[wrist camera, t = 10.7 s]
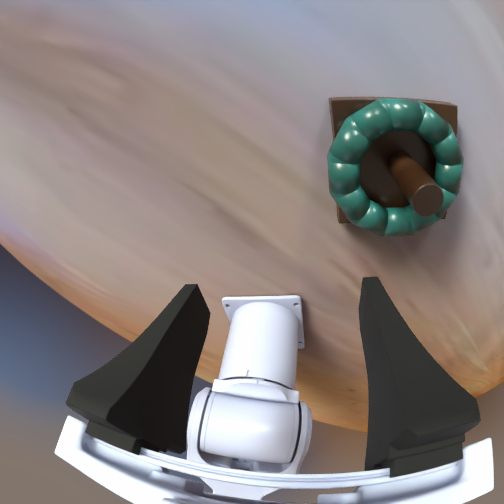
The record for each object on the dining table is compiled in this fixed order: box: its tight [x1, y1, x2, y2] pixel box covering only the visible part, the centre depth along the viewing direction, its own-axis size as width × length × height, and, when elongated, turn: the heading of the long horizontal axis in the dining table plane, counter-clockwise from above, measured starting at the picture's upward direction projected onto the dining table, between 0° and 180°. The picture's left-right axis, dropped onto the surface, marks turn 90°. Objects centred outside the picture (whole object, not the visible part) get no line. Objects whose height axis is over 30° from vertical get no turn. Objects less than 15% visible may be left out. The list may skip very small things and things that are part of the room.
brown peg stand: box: [329, 97, 457, 223], centre depth 14 cm, size 9×9×6 cm
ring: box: [327, 98, 463, 236], centre depth 15 cm, size 10×10×2 cm
